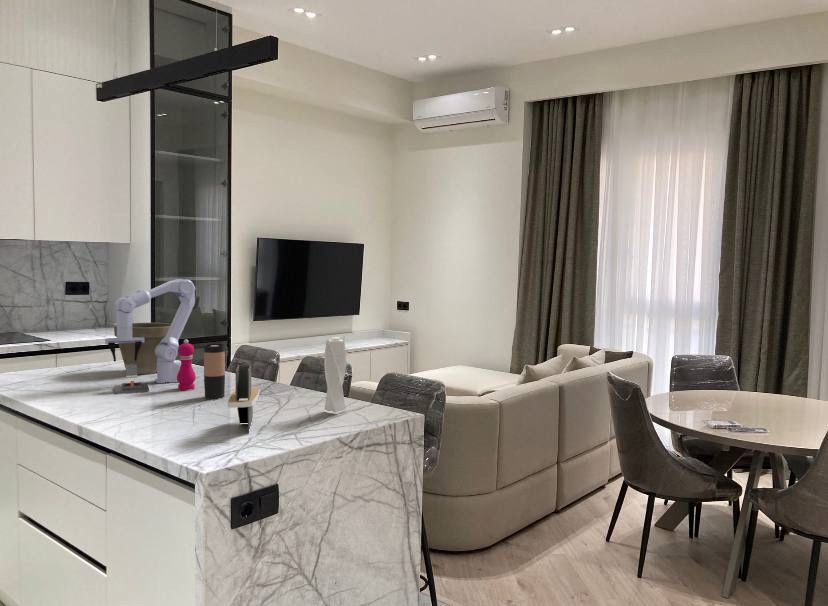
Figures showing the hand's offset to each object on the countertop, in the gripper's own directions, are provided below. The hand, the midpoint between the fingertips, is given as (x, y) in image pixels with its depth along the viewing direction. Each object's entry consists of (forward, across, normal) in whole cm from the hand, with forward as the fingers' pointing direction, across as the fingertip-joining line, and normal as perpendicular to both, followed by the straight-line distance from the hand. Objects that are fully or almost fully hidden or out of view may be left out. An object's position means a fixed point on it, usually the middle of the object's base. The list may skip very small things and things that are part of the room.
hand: (125, 360), depth 271 cm
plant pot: (+11, -9, -32) cm, 35 cm away
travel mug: (+11, -30, +34) cm, 47 cm away
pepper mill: (+11, -22, +14) cm, 28 cm away
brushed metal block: (+5, -2, +9) cm, 11 cm away
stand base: (+10, -2, +9) cm, 14 cm away
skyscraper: (+11, -65, +73) cm, 98 cm away
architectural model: (+11, -32, +81) cm, 88 cm away
